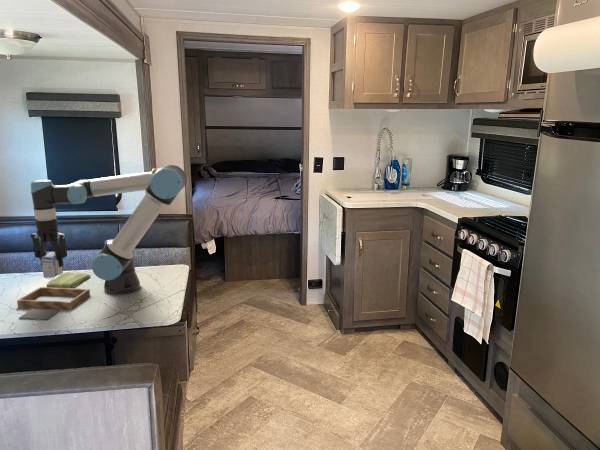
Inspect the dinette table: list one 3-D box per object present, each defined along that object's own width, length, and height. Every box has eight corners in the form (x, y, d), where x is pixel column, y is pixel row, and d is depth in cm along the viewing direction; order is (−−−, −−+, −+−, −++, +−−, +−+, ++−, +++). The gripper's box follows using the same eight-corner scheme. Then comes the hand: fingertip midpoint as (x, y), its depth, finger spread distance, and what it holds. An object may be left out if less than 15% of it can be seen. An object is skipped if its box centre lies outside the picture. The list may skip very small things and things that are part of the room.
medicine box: (52, 271, 187) (49, 251, 185) (63, 271, 188) (60, 251, 186) (43, 278, 180) (40, 257, 178) (55, 277, 180) (52, 257, 178)
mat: (60, 310, 178) (60, 309, 178) (47, 320, 169) (46, 318, 169) (34, 309, 178) (34, 307, 178) (19, 319, 170) (19, 317, 169)
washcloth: (92, 277, 216) (91, 271, 216) (72, 290, 199) (71, 284, 198) (66, 276, 217) (65, 270, 216) (43, 289, 200) (43, 282, 199)
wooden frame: (90, 295, 193) (89, 289, 192) (70, 309, 178) (70, 302, 178) (41, 293, 194) (40, 287, 194) (17, 307, 180) (17, 300, 179)
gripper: (72, 217, 181) (79, 271, 187) (30, 216, 182) (38, 270, 188) (62, 221, 174) (69, 277, 179) (18, 220, 175) (26, 276, 181)
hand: (53, 273), depth 184 cm, fingers closed on medicine box, 5 cm apart
